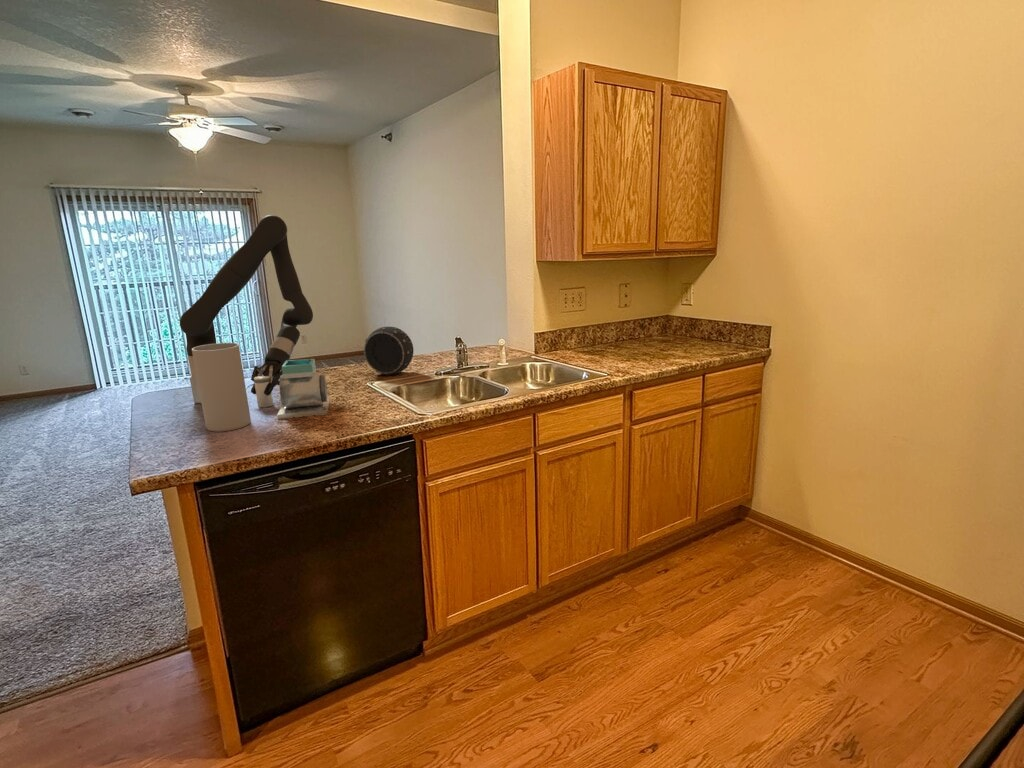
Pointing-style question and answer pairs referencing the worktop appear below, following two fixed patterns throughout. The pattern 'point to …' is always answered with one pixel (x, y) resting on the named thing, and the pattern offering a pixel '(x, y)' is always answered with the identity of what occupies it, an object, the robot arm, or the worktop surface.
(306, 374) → the motor
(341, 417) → the worktop surface
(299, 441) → the worktop surface
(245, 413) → the cylinder vase
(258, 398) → the jar with metallic lid
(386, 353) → the black wheel
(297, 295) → the robot arm
